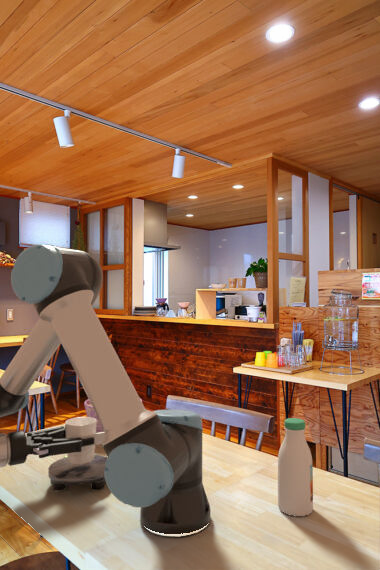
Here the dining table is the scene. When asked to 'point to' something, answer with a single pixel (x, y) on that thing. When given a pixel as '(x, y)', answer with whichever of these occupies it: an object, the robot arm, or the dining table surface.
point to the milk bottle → (295, 471)
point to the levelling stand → (77, 473)
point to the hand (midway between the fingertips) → (99, 433)
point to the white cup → (75, 430)
